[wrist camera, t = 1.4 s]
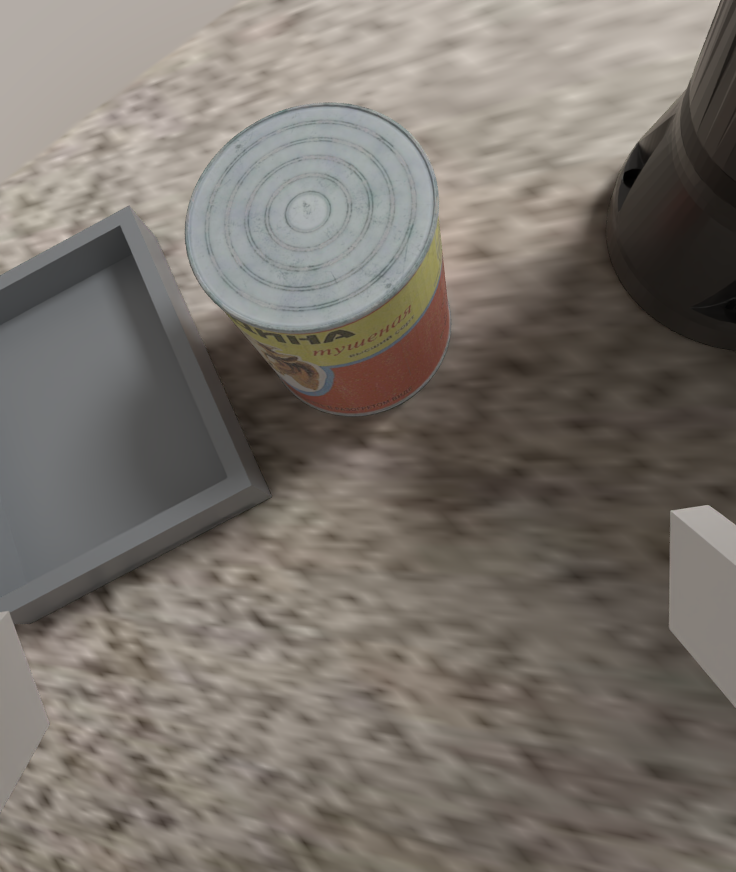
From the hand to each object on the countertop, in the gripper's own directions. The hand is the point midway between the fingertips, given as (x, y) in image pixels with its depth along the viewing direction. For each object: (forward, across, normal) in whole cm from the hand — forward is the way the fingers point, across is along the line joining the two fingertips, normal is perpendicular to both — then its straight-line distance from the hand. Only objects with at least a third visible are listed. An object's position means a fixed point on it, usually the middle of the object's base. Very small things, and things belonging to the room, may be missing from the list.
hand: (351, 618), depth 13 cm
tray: (+29, -15, -2) cm, 33 cm away
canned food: (+28, +2, +1) cm, 29 cm away
